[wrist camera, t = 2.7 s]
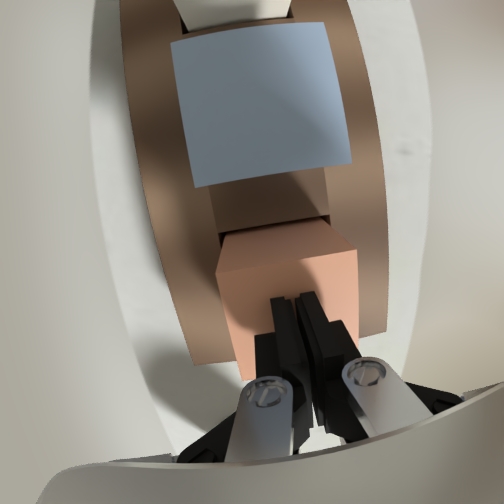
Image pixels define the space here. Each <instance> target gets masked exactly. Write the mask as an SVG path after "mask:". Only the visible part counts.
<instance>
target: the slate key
mask: <svg viewBox="0 0 504 504" xmlns="http://www.w3.org/2000/svg"><path fill="white" fill-rule="evenodd" d="M170 44H171V51H172V58H173V65H174V72H175V79H176V85H177V91H178V97H179V104H180V110H181V115H182V121H183V127H184V133H185V138H186V144H187V149H188V155H189V160H190V165H191V170H192V176H193V181H194V186H195V188H198V187H203V186H208V185H213V184H218V183H223V182H229V181H234V180H240V179H246V178H252V177H258V176H264V175H270V174H276V173H283V172H290V171H297V170H304V169H311V168H319V167H327V166H336V165H344V164H352V158H351V150H350V144H349V137H348V131H347V125H346V119H345V113H344V108H343V102H342V97H341V92H340V87H339V82H338V78H337V73H336V69H335V64H334V60H333V56H332V52H331V48H330V44H329V40H328V36H327V33H326V29H325V25H324V22H307V23H286V24H273V25H263V26H254V27H247V28H239V29H233V30H227V31H221V32H216V33H210V34H206V35H201V36H196V37H192V38H188V39H184V40H180V41H176V42H172V43H170Z"/></svg>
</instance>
